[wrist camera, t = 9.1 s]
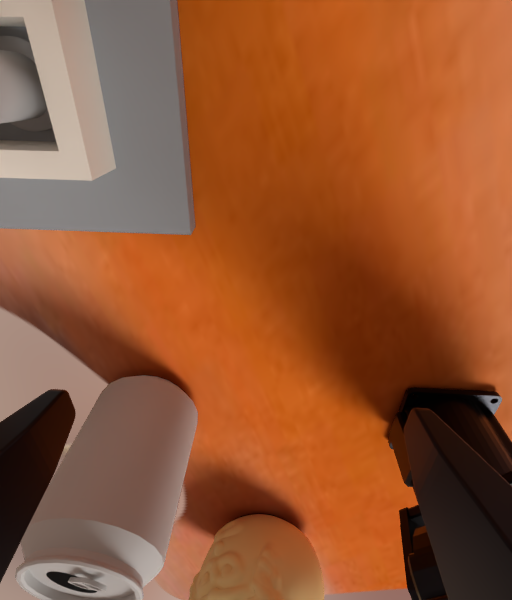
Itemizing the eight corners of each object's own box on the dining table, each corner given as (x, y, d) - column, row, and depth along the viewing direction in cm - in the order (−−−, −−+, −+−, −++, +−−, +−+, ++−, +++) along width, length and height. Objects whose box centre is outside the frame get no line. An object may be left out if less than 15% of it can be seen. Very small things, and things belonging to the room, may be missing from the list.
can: (85, 395, 27) (-32, 583, 17) (148, 350, 24) (54, 544, 14) (156, 444, 30) (93, 630, 20) (220, 409, 27) (185, 606, 17)
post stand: (166, -127, 12) (104, -247, 8) (195, 226, 19) (170, 269, 15) (-184, -126, 13) (-430, -238, 8) (-32, 219, 20) (-123, 258, 15)
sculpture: (261, 485, 32) (255, 643, 23) (339, 535, 37) (360, 685, 27) (184, 523, 37) (154, 667, 28) (261, 563, 41) (257, 700, 32)
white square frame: (82, -10, 13) (45, -27, 11) (116, 168, 16) (92, 180, 14) (-81, -11, 13) (-148, -30, 11) (-14, 164, 17) (-57, 176, 15)
